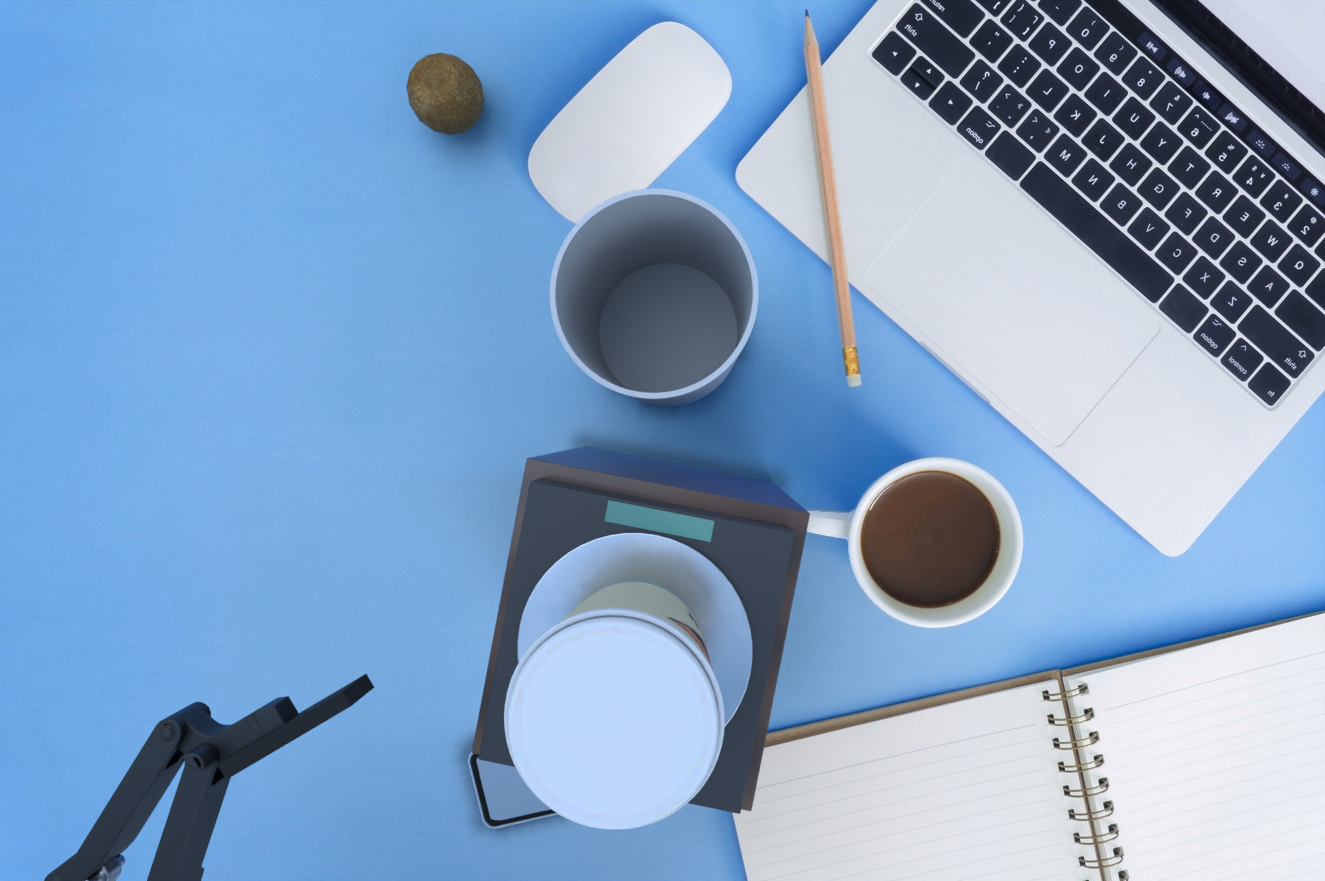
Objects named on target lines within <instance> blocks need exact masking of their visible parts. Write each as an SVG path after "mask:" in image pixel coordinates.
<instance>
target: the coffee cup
mask: <svg viewBox="0 0 1325 881" xmlns="http://www.w3.org/2000/svg"><path fill="white" fill-rule="evenodd" d="M504 726H505V735H506V741H507V745H508V749H509V752H510V755H511V758H512V760H513V763H514V765H515V767H516V769H517V771H518V773H519V775H520V776H521V778H522V779H523V781H524V782H525V784H526V785H527V786H528V787H529V789H530V790H531V791H532V792H533V793H534V794H535V795H536V796H537V797H538V798H539V799H540V800H541V801H542V802H543V803H544V804H545V805H547V806H548V807H549V808H551V809H552V810H553V811H555V812H556V813H558V814H559V815H558V816H561V817H563V818H565V819H567V820H569V821H571V822H573V823H576V824H579V825H581V826H584V827H590V828H593V829H599V830H605V831H606V830H607V831H611V830H612V831H613V830H614V831H619V830H631V829H632V830H633V829H637V828H642V827H646V826H649V825H652V824H655V823H658V822H659V821H662V820H665V819H666V818H668V817H670V816H672V815H673V814H675V813H677V812H678V811H679V810H681V809H683V807H685V806H686V805H687V804H689V803H688V802H689V801H690V800H691V799H692V798H693V797H694V796H695V795H696V794H697V793H698V792H699V791H700V790H701V788H702V787H703V786H704V784H705V783H706V781H707V780H708V778H709V776H710V775H711V773H712V771H713V769H714V767H715V764H716V762H717V760H718V757H719V754H720V750H721V747H722V742H723V737H724V726H725V714H724V704H723V697H722V694H721V690H720V686H719V683H718V681H717V678H716V676H715V673H714V671H713V669H712V666H711V662H710V658H709V655H708V652H707V648H706V645H705V642H704V638H703V635H702V633H701V630H700V627H699V625H698V623H697V621H696V619H695V617H694V615H693V614H692V612H691V611H690V610H689V609H688V607H687V606H686V605H685V604H684V603H683V602H682V601H681V600H680V599H679V598H678V597H676V596H675V595H673V594H672V593H670V592H669V591H667V590H665V589H663V588H661V587H659V586H655V585H652V584H648V583H643V582H624V583H618V584H614V585H611V586H608V587H606V588H603V589H601V590H600V591H598V592H596V593H595V594H593V595H591V596H590V597H588V598H587V599H586V600H585V601H583V602H582V603H581V604H580V605H579V606H577V607H576V608H575V609H574V610H573V611H572V612H570V613H569V614H568V615H567V616H566V617H565V618H563V619H562V620H561V621H560V622H559V623H557V624H556V625H554V626H553V627H551V628H550V629H549V630H547V631H546V632H544V633H543V634H542V635H541V636H540V637H539V638H538V639H537V640H536V641H535V642H534V643H533V644H532V645H531V646H530V647H529V648H528V650H527V651H526V652H525V654H524V655H523V657H522V658H521V660H520V661H519V663H518V665H517V667H516V669H515V671H514V673H513V676H512V678H511V681H510V684H509V688H508V691H507V696H506V701H505V710H504Z"/></svg>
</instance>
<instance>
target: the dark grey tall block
mask: <svg viewBox="0 0 1325 881" xmlns="http://www.w3.org/2000/svg"><path fill="white" fill-rule="evenodd" d="M523 470H524V471H523V476H522V482H521V487H520V492H519V498H518V503H517V508H516V513H515V519H514V524H513V530H512V534H511V539H510V545H509V550H508V556H507V562H506V567H505V573H504V577H503V583H502V589H501V594H500V599H499V605H498V608H497V614H496V619H495V620H496V622H495V626H494V631H493V635H492V641H491V646H490V652H489V657H488V658H489V659H488V663H487V670H486V674H485V679H484V683H483V684H484V685H483V690H482V696H481V700H480V706H479V711H478V717H477V722H476V727H475V731H474V732H475V733H474V736H473V743H472V748H471V752H472V753H474V754H479V752H480V747H481V742H482V736H483V731H484V726H485V720H486V715H487V710H488V704H489V699H490V694H491V688H492V683H493V678H494V672H495V667H496V662H497V656H498V651H499V646H500V640H501V635H502V630H503V624H504V619H505V614H506V608H507V603H508V598H509V592H510V587H511V582H512V576H513V571H514V566H515V560H516V555H517V550H518V544H519V539H520V534H521V528H522V523H523V518H524V512H525V507H526V502H527V496H528V491H529V486H530V482H531V481H533V480H536V479H539V478H544V479H549V480H554V481H559V482H564V483H569V484H574V485H579V486H584V487H590V488H595V489H600V490H605V491H610V492H615V493H620V494H625V495H631V496H636V497H641V498H646V499H651V500H656V501H661V502H666V503H671V504H677V505H682V506H687V507H692V508H697V509H702V510H707V511H712V512H717V513H723V514H728V515H733V516H738V517H743V518H748V519H753V520H758V521H763V522H769V523H774V524H779V525H784V526H789V527H790V528H791V529H792V530H793V531H794V533H795V538H794V543H793V548H792V554H791V559H790V564H789V569H788V574H787V579H786V584H785V589H784V594H783V599H782V604H781V609H780V615H779V620H778V625H777V630H776V635H775V640H774V645H773V650H772V655H771V660H770V665H769V671H768V676H767V681H766V686H765V691H764V696H763V701H762V706H761V711H760V716H759V721H758V726H757V732H756V737H755V742H754V747H753V752H752V757H751V762H750V767H749V772H748V777H747V782H746V788H745V793H744V798H743V803H742V808H741V811H742V810H743V811H747V812H752V810H753V805H754V800H755V797H756V796H755V795H756V790H757V785H758V780H759V775H760V771H761V767H762V766H761V765H762V761H763V755H764V750H765V744H766V739H767V735H768V729H769V725H770V721H771V720H770V719H771V715H772V710H773V703H774V699H775V693H776V689H777V685H778V679H779V673H780V668H781V664H782V658H783V654H784V648H785V643H786V638H787V634H788V627H789V623H790V618H791V613H792V607H793V603H794V597H795V592H796V588H797V583H798V577H799V572H800V568H801V562H802V557H803V552H804V547H805V542H806V536H807V531H808V526H809V521H810V517H811V513H810V512H809V511H808V510H807V509H805V508H804V507H803V506H802V505H800V503H798V502H797V501H796V500H795V499H793V498H792V497H791V496H790V495H788V494H787V493H786V492H785V491H784V490H783V489H782V488H780V487H779V486H778V485H777V484H776V483H774V482H772V481H767V480H761V479H756V478H752V477H747V476H742V475H736V474H731V473H726V472H721V471H715V470H711V469H705V468H701V467H695V466H691V465H685V464H679V463H675V462H669V461H664V460H658V459H653V458H649V457H643V456H637V455H633V454H627V453H622V452H617V451H613V450H606V449H601V448H598V447H597V448H596V447H591V446H587V445H586V446H579V447H575V448H570V449H565V450H560V451H555V452H551V453H550V452H549V453H546V454H540V455H535V456H531V457H527V458H526V460H525V465H524V469H523Z"/></svg>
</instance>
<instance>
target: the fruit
mask: <svg viewBox="0 0 1325 881" xmlns="http://www.w3.org/2000/svg"><path fill="white" fill-rule="evenodd" d="M406 81H407V83H406V86H405V87H406V93H407V98H408V104H409V106H410V108H411V109H412V111H413V113H414V114H415V116H416V117H417V119H418V121H419V122H421V123H422V124H423V125H424V126H426V127H428V128H429V129H430V130H431V131H433V132H434V133H439V134H444V135H448V136H454V135H459V134H464V133H466V132H467V131H469V130H470V129H472V128H473V127H475V125H476V124H477V123H478V121H479V120H480V118H481V117H482V115H483V110H484V107H485V101H486V100H485V93H484V87H483V84H482V82H481V81H482V80H481V79H480V78H479V76H478V75H477V73H476V72H475V70H474V68H473V67H472V66H471V65H470V64H469V63H467V62H466V61H465V60H463V59H462V58H460V57H459V56H457V55H454V54H450V53H445V52H436V53H431V54H430V53H429V54H427V55H425V56H423V57H422V58H420V59H418V60H417V61H416V62H415V63H414V65H413V67H412V68H411V70H410V71H409V73H408V77H407V80H406Z"/></svg>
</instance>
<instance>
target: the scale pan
mask: <svg viewBox="0 0 1325 881" xmlns="http://www.w3.org/2000/svg"><path fill="white" fill-rule="evenodd" d="M624 582H643V583H648V584H652V585H655V586H659V587H661V588H663V589H665V590H667V591H669V592H670V593H672V594H673V595H675V596H676V597H678V598H679V599H680V600H681V601H682V602H683V603H684V604H685V605H686V606H687V607H688V609H689V610H690V611H691V612H692V614H693V615H694V617H695V619H696V621H697V623H698V625H699V627H700V630H701V633H702V635H703V638H704V642H705V645H706V648H707V652H708V655H709V658H710V662H711V666H712V669H713V671H714V673H715V676H716V678H717V681H718V683H719V686H720V690H721V694H722V697H723V704H724V714H725V726H726V725H727V724H728V722H729V721H730V720H731V718H732V717H733V716H734V714H735V712H736V711H737V709H738V707H739V705H740V704H741V701H742V699H743V697H744V694H745V692H746V689H747V686H748V682H749V678H750V675H751V668H752V660H753V643H752V635H751V628H750V624H749V620H748V617H747V613H746V610H745V608H744V605H743V603H742V601H741V598H740V596H739V594H738V593H737V591H736V589H735V588H734V586H733V584H732V583H731V581H730V580H729V579H728V578H727V576H726V575H725V574H724V572H723V571H722V570H721V569H720V568H719V567H718V566H717V565H716V564H715V563H714V562H713V561H712V560H710V559H709V558H708V557H706V556H705V555H704V554H703V553H701V552H700V551H698V550H697V549H695V548H693V547H691V546H690V545H688V544H686V543H684V542H681V541H679V540H676V539H674V538H671V537H668V536H664V535H660V534H656V533H648V532H620V533H613V534H608V535H605V536H601V537H597V538H595V539H592V540H590V541H587V542H585V543H583V544H581V545H579V546H577V547H576V548H574V549H572V550H571V551H569V552H568V553H566V554H565V555H564V556H563V557H561V558H560V559H559V560H557V561H556V562H555V563H554V564H553V565H552V566H551V567H550V568H549V569H548V570H547V571H546V572H545V574H544V575H543V576H542V578H541V579H540V580H539V582H538V583H537V584H536V586H535V588H534V589H533V591H532V593H531V595H530V596H529V598H528V601H527V603H526V606H525V608H524V611H523V614H522V618H521V621H520V625H519V632H518V640H517V658H518V663H519V661H520V660H521V658H522V657H523V655H524V654H525V652H526V651H527V650H528V648H529V647H530V646H531V645H532V644H533V643H534V642H535V641H536V640H537V639H538V638H539V637H540V636H541V635H542V634H543V633H544V632H546V631H547V630H549V629H550V628H551V627H553V626H554V625H556V624H557V623H559V622H560V621H561V620H562V619H563V618H565V617H566V616H567V615H568V614H569V613H570V612H572V611H573V610H574V609H575V608H576V607H577V606H579V605H580V604H581V603H582V602H583V601H585V600H586V599H587V598H588V597H590V596H591V595H593V594H595V593H596V592H598V591H600V590H601V589H603V588H606V587H608V586H611V585H614V584H618V583H624ZM725 726H724V728H725Z"/></svg>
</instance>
